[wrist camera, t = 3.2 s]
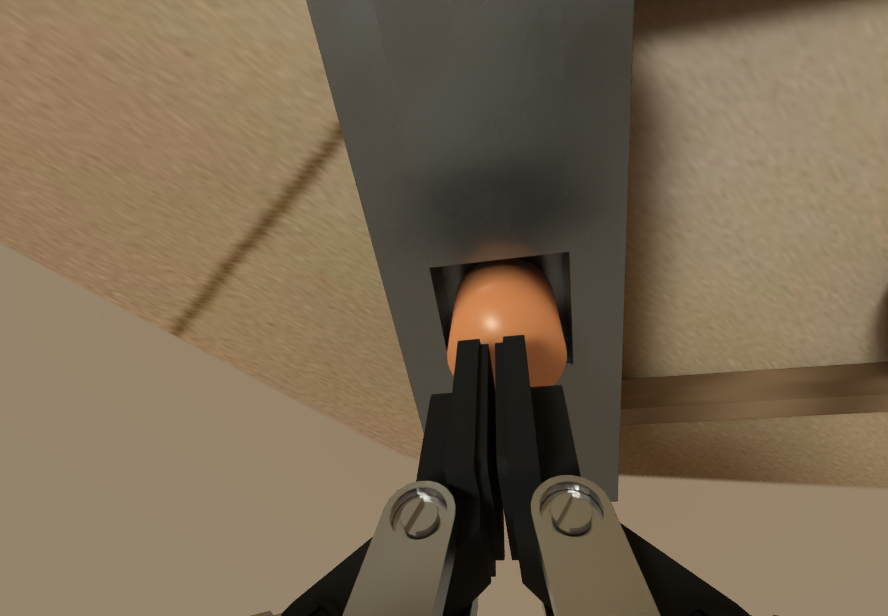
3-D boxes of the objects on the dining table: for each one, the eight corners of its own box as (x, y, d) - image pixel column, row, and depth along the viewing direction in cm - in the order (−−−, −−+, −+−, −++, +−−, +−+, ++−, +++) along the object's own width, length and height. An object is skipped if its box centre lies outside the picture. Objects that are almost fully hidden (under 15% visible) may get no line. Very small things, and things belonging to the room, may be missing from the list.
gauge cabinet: (600, -46, 14) (660, -90, 9) (599, 396, 23) (629, 501, 18) (368, 5, 15) (304, -7, 10) (454, 405, 24) (443, 505, 19)
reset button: (551, 251, 14) (564, 301, 11) (556, 337, 15) (568, 399, 13) (448, 263, 14) (437, 314, 12) (463, 345, 16) (456, 405, 13)
